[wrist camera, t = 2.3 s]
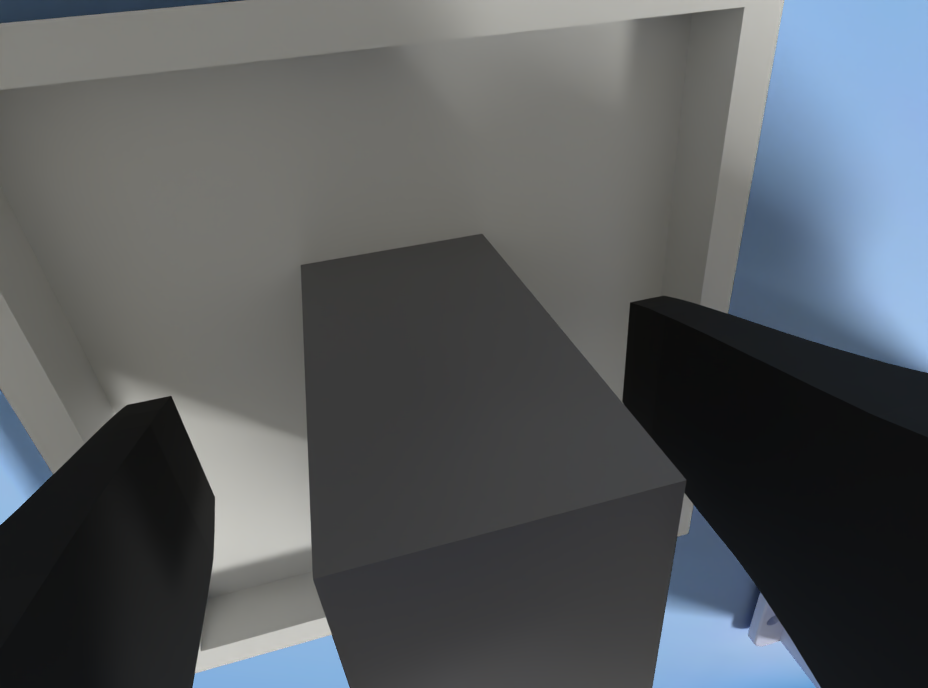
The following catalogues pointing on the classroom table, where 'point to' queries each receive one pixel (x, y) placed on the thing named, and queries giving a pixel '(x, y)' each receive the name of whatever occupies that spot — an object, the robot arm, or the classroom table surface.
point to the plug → (475, 482)
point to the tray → (343, 212)
